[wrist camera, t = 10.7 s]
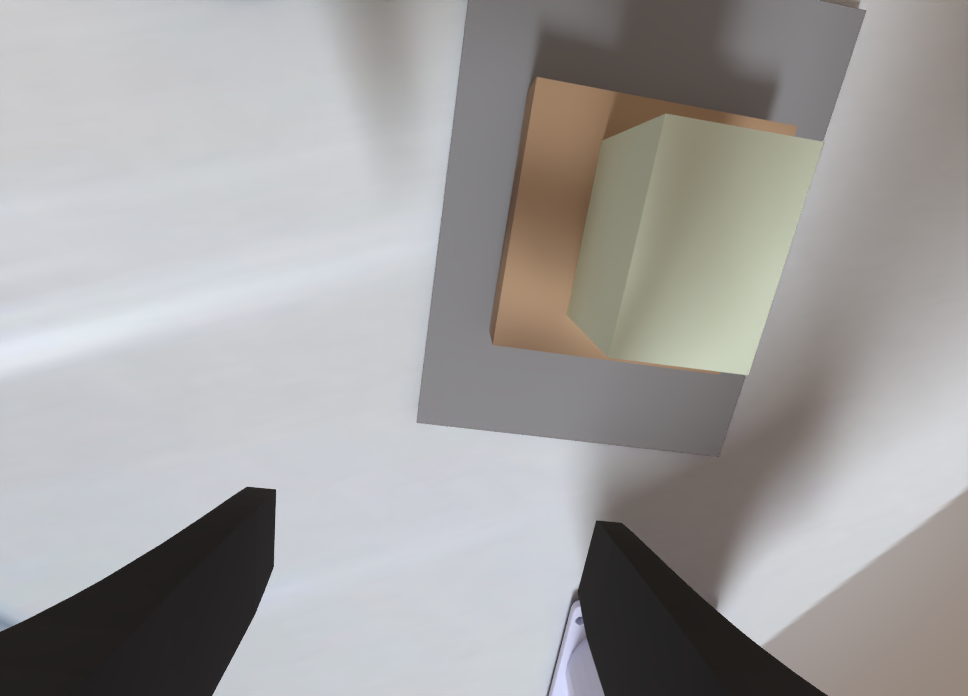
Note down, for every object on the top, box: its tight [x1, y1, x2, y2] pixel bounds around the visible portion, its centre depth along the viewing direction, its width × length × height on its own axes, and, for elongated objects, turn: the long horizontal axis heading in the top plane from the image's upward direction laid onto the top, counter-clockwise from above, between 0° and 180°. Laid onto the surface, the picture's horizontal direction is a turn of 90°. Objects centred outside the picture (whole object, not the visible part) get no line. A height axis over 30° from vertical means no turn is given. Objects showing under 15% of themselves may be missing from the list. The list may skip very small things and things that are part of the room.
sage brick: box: [567, 114, 824, 375], centre depth 14 cm, size 6×4×5 cm, turn 172°
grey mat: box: [417, 0, 866, 457], centre depth 19 cm, size 18×14×1 cm
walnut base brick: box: [489, 77, 797, 375], centre depth 18 cm, size 9×9×2 cm
